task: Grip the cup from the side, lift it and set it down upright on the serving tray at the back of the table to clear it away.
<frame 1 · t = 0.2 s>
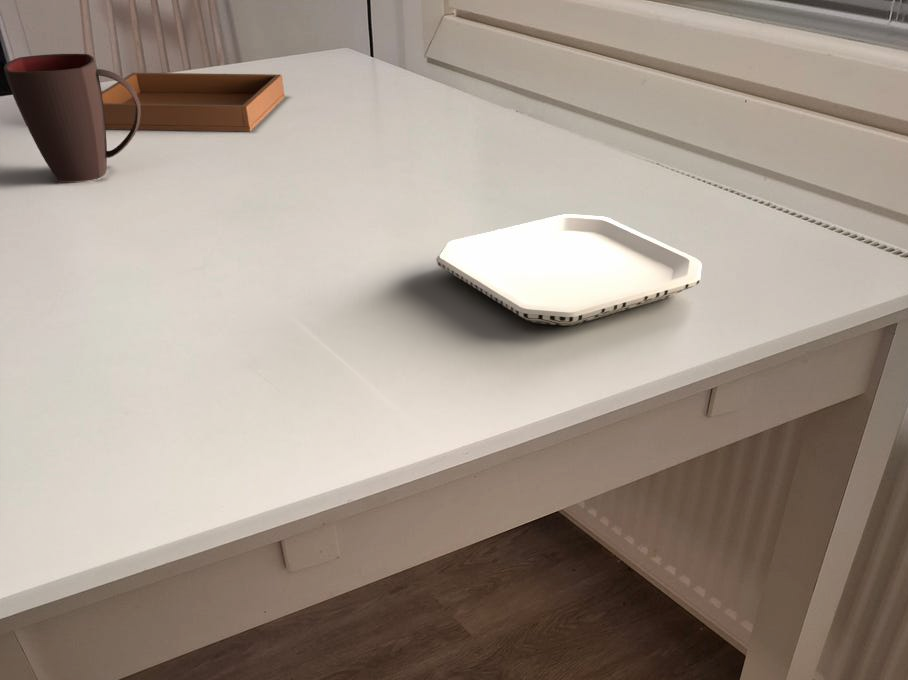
cup: (98, 175, 113), on the table
tray: (191, 112, 134), on the table
plate: (566, 283, 87), on the table
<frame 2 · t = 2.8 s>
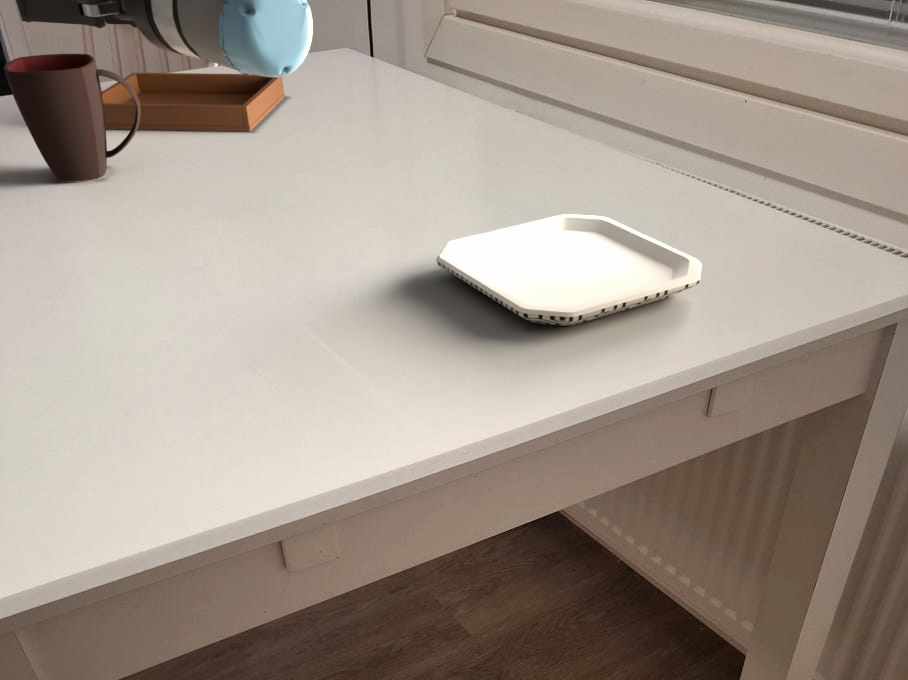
nothing on the table moved.
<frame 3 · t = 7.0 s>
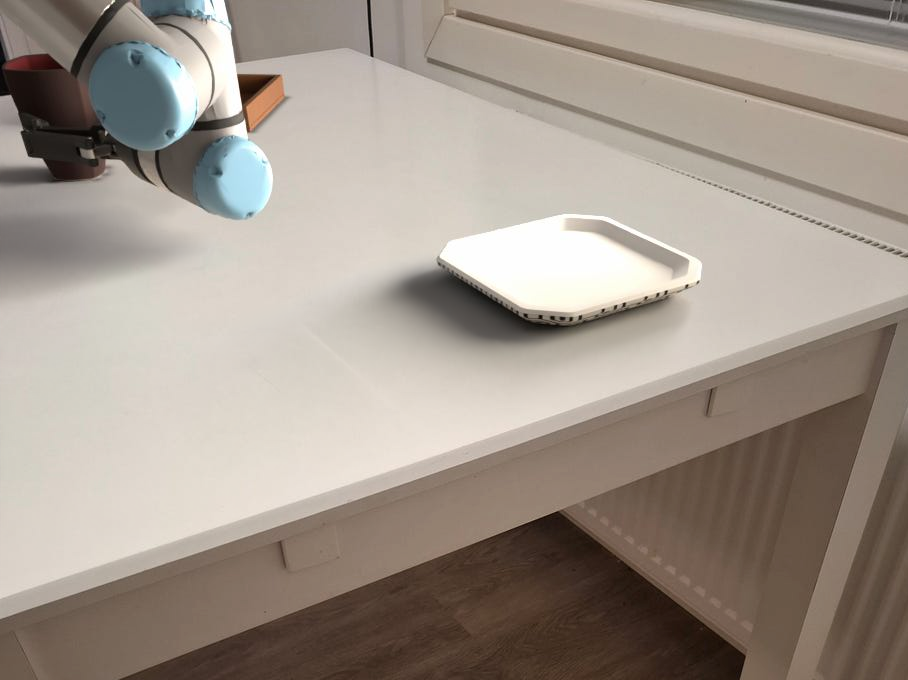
hand: (80, 114, 108), 7 cm above the table, tool horizontal, fingers open, 13 cm apart
cup: (96, 175, 113), on the table, touching gripper
everything else where it was.
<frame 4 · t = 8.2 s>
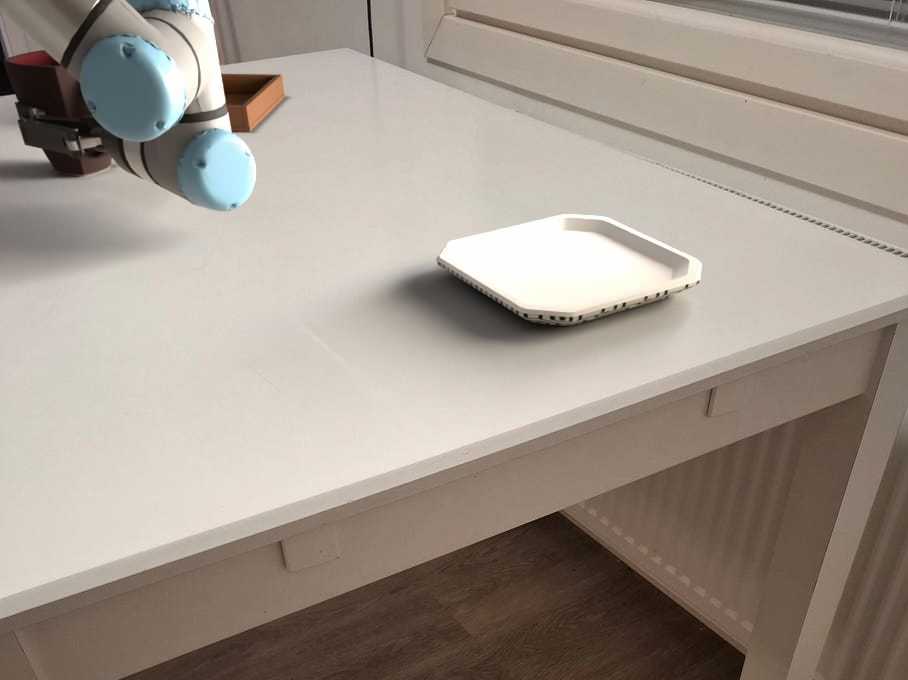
hand: (63, 107, 110), 7 cm above the table, tool horizontal, fingers closed on cup, 10 cm apart
cup: (95, 172, 114), on the table, touching gripper
everything else where it was.
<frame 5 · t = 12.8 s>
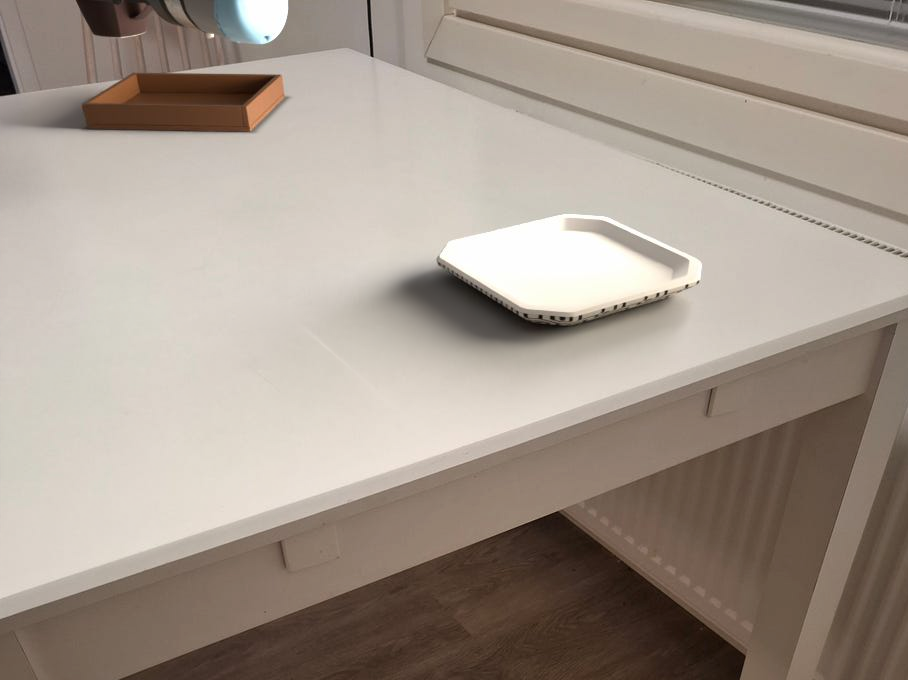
cup: (132, 36, 119), point 11 cm above the table, touching gripper
everything else where it was.
when the fingers open (7 cm above the table, at t = 17.5 s): cup stays where it is, resting on tray.
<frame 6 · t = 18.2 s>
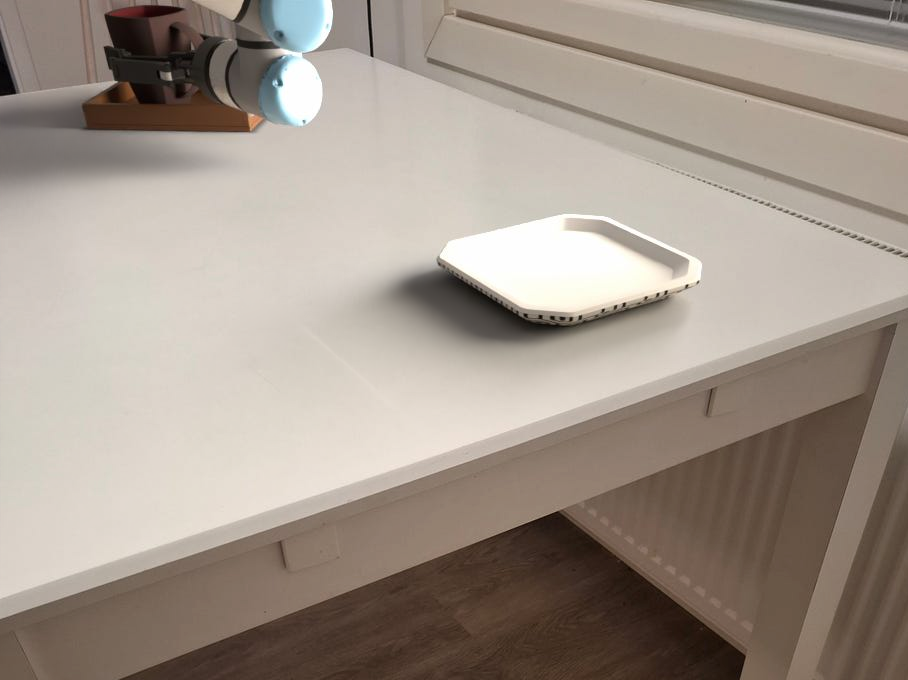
hand: (153, 50, 128), 8 cm above the table, tool horizontal, fingers open, 13 cm apart
cup: (177, 112, 133), resting on tray
everything else where it was.
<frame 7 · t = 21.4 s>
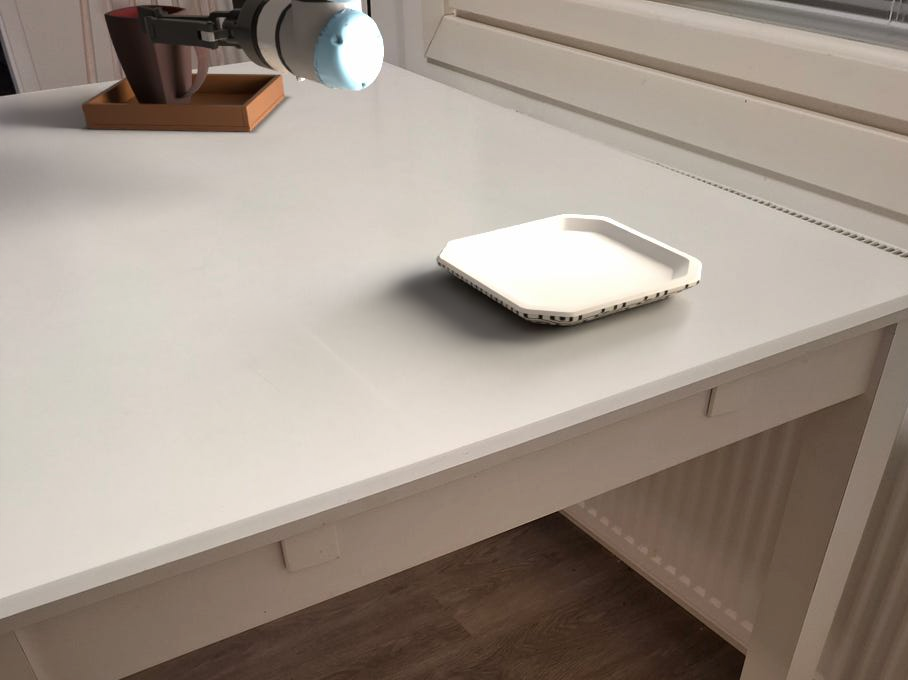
hand: (189, 12, 118), 14 cm above the table, tool horizontal, fingers open, 13 cm apart
nothing on the table moved.
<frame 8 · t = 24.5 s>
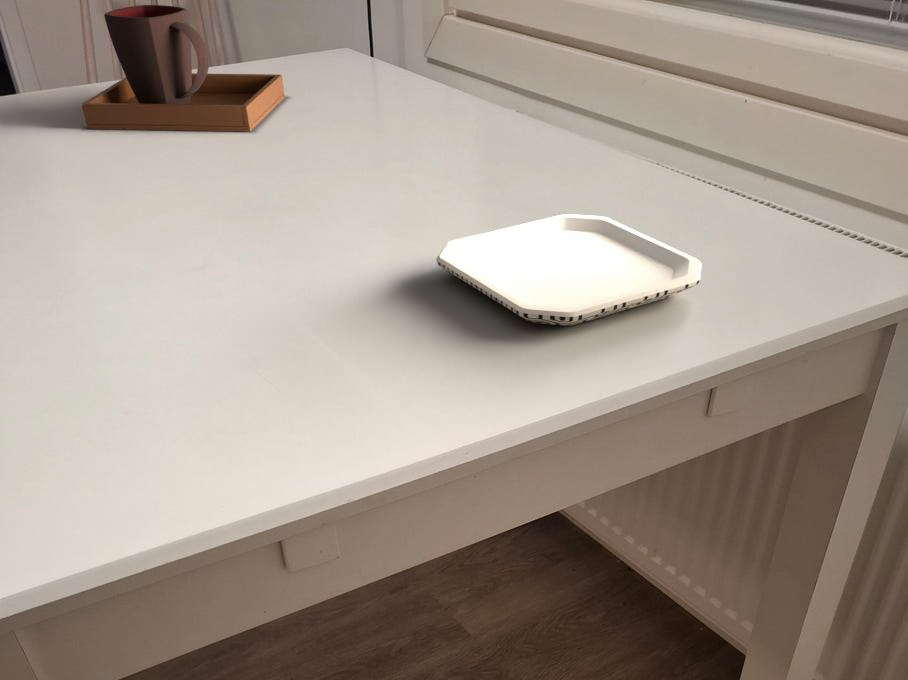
nothing on the table moved.
at the end: cup inside the target area in the tray (2.1 cm from its centre), point 0.4 cm above the tray's base; cup tilted 0°; the gripper is holding nothing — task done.
